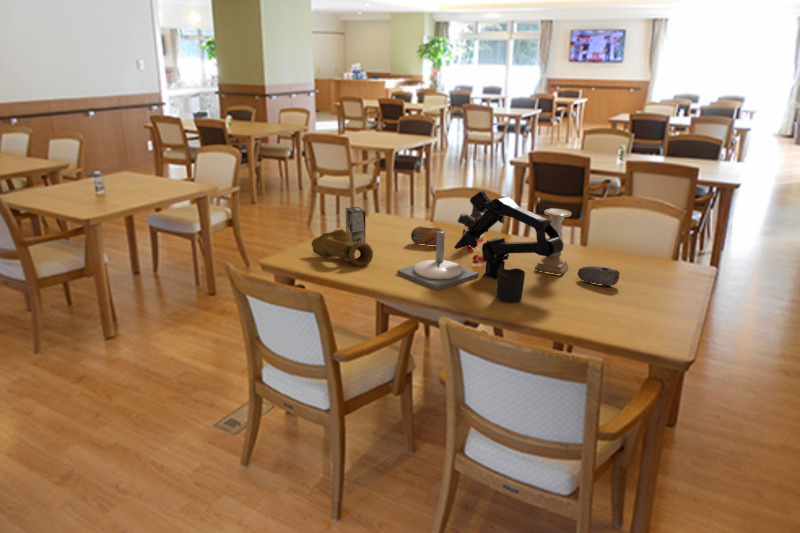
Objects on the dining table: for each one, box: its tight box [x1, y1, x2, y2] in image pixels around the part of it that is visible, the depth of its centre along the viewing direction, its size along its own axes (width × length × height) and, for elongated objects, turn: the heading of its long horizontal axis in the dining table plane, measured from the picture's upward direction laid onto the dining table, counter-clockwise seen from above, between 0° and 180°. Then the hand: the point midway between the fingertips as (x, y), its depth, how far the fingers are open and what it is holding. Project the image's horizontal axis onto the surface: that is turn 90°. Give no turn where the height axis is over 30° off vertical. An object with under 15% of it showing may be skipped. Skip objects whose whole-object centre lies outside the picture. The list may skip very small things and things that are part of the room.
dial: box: [414, 230, 462, 280], centre depth 226 cm, size 18×18×14 cm
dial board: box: [396, 258, 479, 291], centre depth 229 cm, size 22×22×2 cm
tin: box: [410, 225, 446, 245], centre depth 264 cm, size 15×3×8 cm, turn 73°
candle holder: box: [534, 208, 572, 276], centre depth 234 cm, size 11×11×24 cm
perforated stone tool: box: [577, 265, 621, 287], centre depth 223 cm, size 15×5×7 cm, turn 54°
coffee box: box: [345, 206, 367, 243], centre depth 261 cm, size 9×6×16 cm
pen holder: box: [496, 268, 526, 304], centre depth 207 cm, size 9×9×10 cm
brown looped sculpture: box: [311, 229, 374, 268], centre depth 243 cm, size 18×13×22 cm
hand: (455, 248), depth 232 cm, fingers closed
